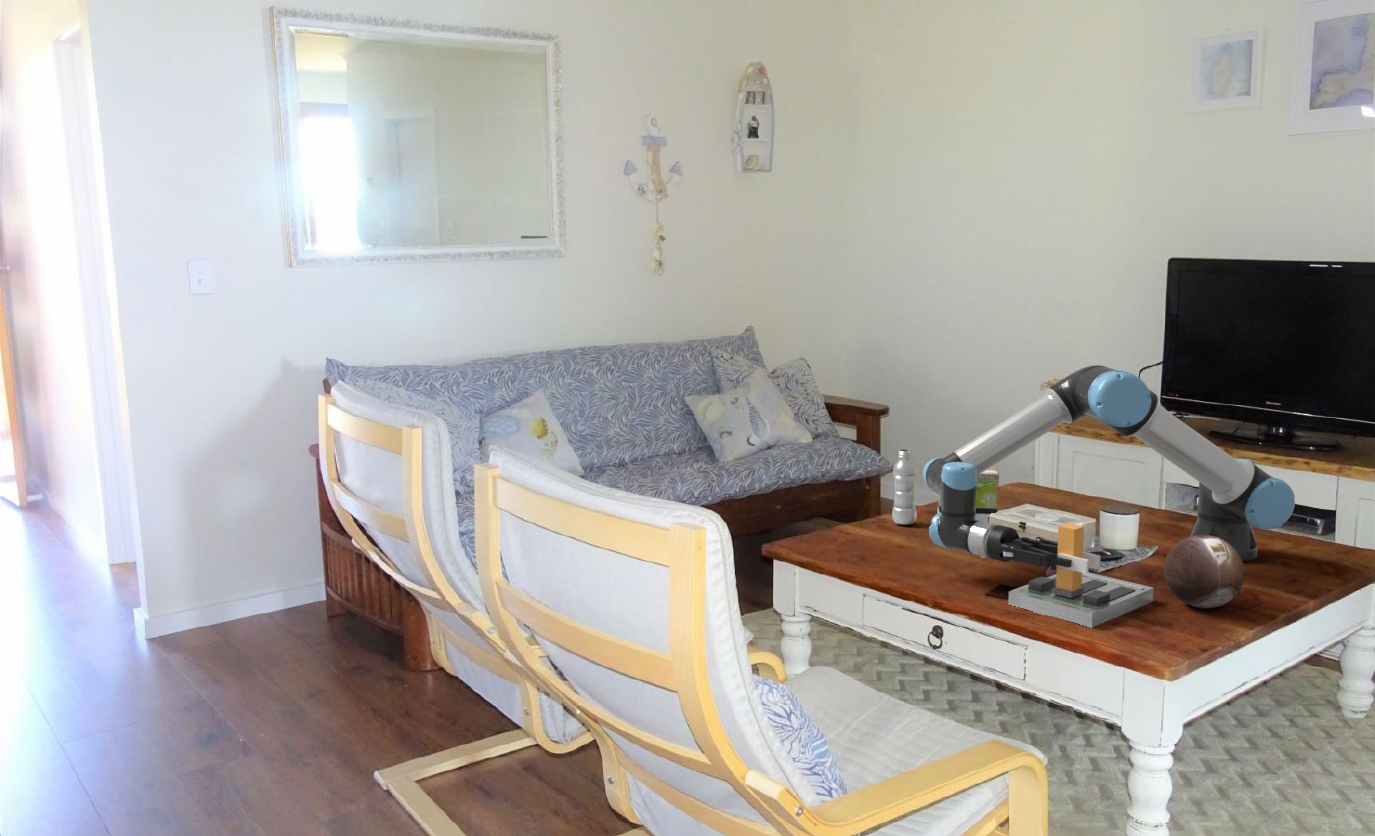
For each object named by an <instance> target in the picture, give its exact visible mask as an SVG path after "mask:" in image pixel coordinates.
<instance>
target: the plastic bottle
mask: <svg viewBox="0 0 1375 836" xmlns="http://www.w3.org/2000/svg"><path fill="white" fill-rule="evenodd" d="M897 457H898V460H897V462H895V464H894V466H893V468H892V474H893V480H894V499H893V500H894V501H893V507H892V513H891V517H892V521H893V522H894V523H895V524H897V525H902V526H906V525H913V524H914V523H915V522H916V520H917V516H918V515H917V508H916V507H917V506H916V497H915V496H916V495H915V494H916V482H917V476H918V467H917V465H916V463H915V462H914V461H913V459H912V458H913V457H914V455H913V450H912V449H908V448H907V449H906V448H904V449H902V448H901V449H898V455H897Z"/></svg>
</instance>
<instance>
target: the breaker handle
mask: <svg viewBox="0 0 1375 836" xmlns="http://www.w3.org/2000/svg"><path fill="white" fill-rule="evenodd" d="M1084 533H1085V525H1084V526H1083V525H1080V524H1079V525H1078V524H1073V523H1069V522H1068V523H1065V524H1064V523H1063V524H1061V525H1058V531H1057V542H1058V552H1057V557H1058V554H1059V553H1061V554H1066V555H1070V556H1075V557H1079V558H1083V552H1084V537H1085V536H1084ZM1057 566H1058V565H1057ZM1081 586H1082V572H1078V571H1074V570H1069V569H1065V568H1061V567H1057V577H1056V587H1055V588H1054V591H1053V594H1057V595H1061V596H1065V597H1069V598H1072V597H1075V596H1077V595H1080V594H1082V593H1084V587H1081Z"/></svg>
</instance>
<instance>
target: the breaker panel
mask: <svg viewBox="0 0 1375 836" xmlns="http://www.w3.org/2000/svg"><path fill="white" fill-rule="evenodd" d="M1056 577H1057V574H1055V575H1052V576H1050V577H1048V576H1040V577H1037V578H1034V579H1032V580H1029V581H1028V584H1025V585H1023V586H1020V587H1017V588H1014V589H1011V590H1009V591H1008V601H1007V603H1008V604H1009V605H1012V606H1011V607H1013V606H1016V607H1015V608H1017V607H1020V608H1024V609H1027V610H1030V611H1029V612H1031V611H1033V612H1032V613H1035V612H1036V613H1035V614H1039V615H1043V616H1045V617H1049V616H1053V617H1057V618H1060V619H1064V620H1067V621H1071V622H1074V623H1078V624H1080V625H1079V626H1082V625H1084V626H1083V627H1085V626H1087V627H1086V628H1089V627H1090V628H1089V629H1093V628H1096V627H1098V626H1100V625H1102V624H1105V623H1107V622H1109V621H1111V619H1112V620H1113V618H1114V619H1116V618H1118V617H1121V616H1123V615H1126V614H1127V613H1130V612H1132V611H1135V610H1137V609H1139V608H1141V607H1144V606H1146V605H1149V604H1150V603H1153V602H1154V589H1155V588H1154V587H1152V586H1147V585H1144V584H1139V583H1135V582H1131V581H1126V580H1124V579H1123V580H1122V579H1118V578H1115V577H1114V578H1113V577H1109V576H1105V575H1101V574H1098V573H1093V572H1090V571H1088V573H1087V574H1086V573H1082V586H1081V587H1084V593H1082V594H1080V595H1077V596H1075V597H1072V598H1069V597H1065V596H1061V595H1057V594H1053V591H1054V588H1055V587H1056ZM1009 605H1008V606H1009ZM1020 608H1019V609H1020ZM1024 609H1023V610H1024ZM1027 610H1026V611H1027ZM1046 615H1047V616H1046ZM1053 617H1052V618H1053ZM1060 619H1059V620H1060ZM1064 620H1063V621H1064ZM1108 620H1109V621H1108ZM1067 621H1066V622H1067ZM1106 621H1107V622H1106ZM1071 622H1070V623H1071ZM1104 622H1105V623H1104ZM1074 623H1073V624H1074ZM1101 623H1102V624H1101ZM1078 624H1077V625H1078ZM1099 624H1100V625H1099ZM1097 625H1098V626H1097ZM1095 626H1096V627H1095Z"/></svg>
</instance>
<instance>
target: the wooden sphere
mask: <svg viewBox="0 0 1375 836" xmlns="http://www.w3.org/2000/svg"><path fill="white" fill-rule="evenodd" d="M1163 566H1164V568H1163V571H1164V577H1165V578H1164V579H1165V581H1166V584H1167V586H1168V588H1169V589H1170V591H1171V593H1172V594H1173V595H1174V596H1175V597H1176V598H1178V599H1179V600H1180V601H1182V602H1183V603H1185V604H1187V605H1189V606H1191V607H1194V608H1198V609H1213V608H1218V607H1221V606H1223V605H1226V604H1227V603H1230V602H1231V601H1232V600H1233V599H1234V598H1235V597H1236V596H1237V595H1238V594H1239V592H1240V591H1241V589H1242V586H1243V583H1244V581H1245V567H1244V561H1242V560H1241V558H1240V556H1239V554H1238V553H1237V551H1236V550H1235V549H1234V548H1233V547H1232V546H1231V545H1230V544H1229V543H1227V542H1226V541H1224V540H1222V539H1220V538H1218V537H1215V536H1211V535H1194V536H1190V535H1189V536H1187V537H1185V538H1183V539H1181V540H1180V541H1178V542H1176V544H1174V546H1172V547H1171V549H1170V550H1169V552H1168V554H1167V556H1166V558H1165V561H1164V565H1163Z"/></svg>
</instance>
